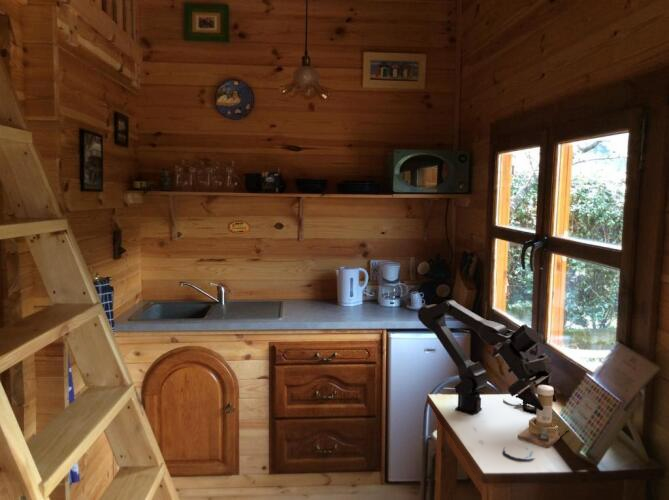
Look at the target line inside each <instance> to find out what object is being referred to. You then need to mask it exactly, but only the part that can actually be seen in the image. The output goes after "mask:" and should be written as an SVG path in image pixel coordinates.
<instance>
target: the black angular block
mask: <svg viewBox="0 0 669 500" xmlns="http://www.w3.org/2000/svg"><path fill="white" fill-rule="evenodd" d="M521 404H523V405H519V404H518V405H519V406H517V405H515V406H514V407H513V409H514V410H518V411H521V412H525V413H528V414H532V415H536V413H537V408H535V407H534V406H532V405H530V404H529V403H527V402H525V401H523V400H522V403H521Z"/></svg>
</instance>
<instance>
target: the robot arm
mask: <svg viewBox="0 0 669 500" xmlns="http://www.w3.org/2000/svg"><path fill="white" fill-rule="evenodd" d="M445 315H449V316H451V317H452V318H453V319H455V320H457V321H459V322H460V323H462V324H463V325H465V326H467V327H469V328H470V329H472V330H474V332H476V334H477V335H478V336H479V338H480V339H481V340H483V342H484V343H486V344H488V345H489V346H495V347H493V349H492V355H491V356H492V357H493V358H495V357H497V356H499V357H501V359H502V360H503V362H504V363H505V365H506V366H507V367H508V369H507V372H508V373H509V374H510V373H512V374H513V375H514V376H515V378H516V380H515V382H513V383H512V384H510V385H509V386H508V387H507V389H508V390H507V391H508V393H509V395H510V396H511V397H514V396H515V398H516V399H519V400H521V401H522V402H523V401H525V402H527V403H529V404H530V405H529V404H528V405H529V406H532V407H535V408H537V409H539V410H540V411H542V410H543V409H544V408H543V406H542V404H541V403H540V401H539V399H538V398H537V394H536V392H535V388H536V389H537V387H538V386H539V385H548V386H551V387H553V386H552V377H553V373H554V371H553V370H552V369H551V368H552V364H551V362H552V358H550V356H549V355H547V353H540V354H539V355H538V357H537V358H536V359H533V360H532V359H531V358H530V357H528V356H527V357H525V355H524V354H526V353H528V352H530V350H532V349H533V348H534V347H536V346H537V345H538V344H539V343H540V342H541V341H542V339H541V337H540V334H539V333H538V332H537V331H536V330H535V329H533V328H531V327H530V326H528V324H526V323H524V324H522V325H520V327H518V329H517V330H511V329H508V327H506V326H505V325H504V324H501V323H499V322H496V321H493V320H487V319H485V318H483V317H481V316H479V315H478V314H476V313H474V312H472V311H471V310H469V309H467V308H466V307H464V306H462V305H461V304H459V303H457V302H456V300H453V299H449V300H445V301H442V302H441V303H438V304H434V303H433V304H429V305H425V306H424V305H423V306H421V307H420V308H419V309H418V312H417V318H418V321H419V322H421V324H422V325H424V327H425V328H426V329H428V330H430V331H432V332H433V333H434V335H435V336H436V338H437V339H438V340H439V343H440V344H441V345H442V347H443V348H444V350H445V351H446V352H447V354H448V356H449V357H450V359H451V360H452V362H453V363H454V365H455V366H456V368H457V372H458V377H459V380H460V382H459V383H457V384H456V385H455V386H454V389H455V390H454V391H455V393H456V394H457V406H456V407H455V408H454V409H455V411H458V412H462V413H466V414H469V415H471V416H473V415H474V414H476V413H478V412H480V411H482V410H483V408H482V407H481V406H482V405H481V404H482V397H481V392H480V391H483V388H484V387H485V386H486V385H487V384H488V379H489V377H488V374H487V370H485V368H484V367H483V366H482V363H481V362H480V361H477V362H474V361H472V360H471V359H470V357H469V356H468V355H467V353H466V352H465V351H464V349H463V347H462V346H461V345H460V343H459V342H458V340H457V338H456V337H455V336H454V334H453V333H452V331H451V329H450V328H449V326H448V325H447V324H446V316H445ZM508 341H509V342H508ZM500 344H501V345H500ZM496 345H499V346H496ZM523 353H524V354H523ZM531 384H532V385H531ZM534 387H535V388H534ZM557 401H558V399H557V396H556V394H555V392H554V394H553V403H556V402H557Z"/></svg>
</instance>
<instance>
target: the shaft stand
mask: <svg viewBox="0 0 669 500" xmlns="http://www.w3.org/2000/svg"><path fill="white" fill-rule="evenodd" d="M517 439H519V440H522V441H525V442H529V443H532V444H535V445H538V446H540V447H544V448H548V449H549V448H550V447H551V446H552V445H553V444H555V443H556V442H557V441H558V440H559V439H560V436H559V435H558V426H557V425H556V426H555V427H553V426H551V427H542V426H539V425H536V416H533V417H532V418H530V419H528V427H527V428H525V429H523V431H520V433H518V434H517Z"/></svg>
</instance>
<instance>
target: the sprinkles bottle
mask: <svg viewBox="0 0 669 500" xmlns="http://www.w3.org/2000/svg"><path fill="white" fill-rule="evenodd" d="M554 391H555V390H554V387H553V386H552V387H551V386H548V385H539V386H538V387H537V388H536V393H537V394H536V396H537V398H538V399H539V401H540V403H541V404H542V406H543V408H544V409H543V410H542V411H540V410H539V409H537V413H536V416H535V417H536V425H539V426H542V427H551V426H552V419H553V403H554V402H553V394H554V393H555V392H554Z"/></svg>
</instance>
